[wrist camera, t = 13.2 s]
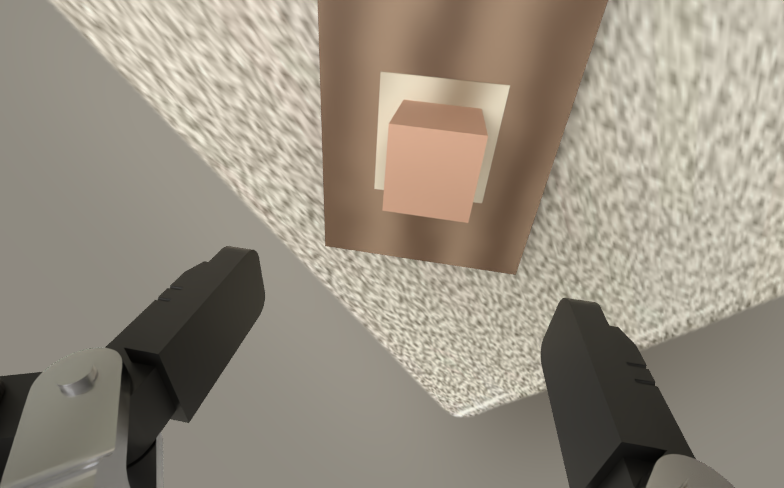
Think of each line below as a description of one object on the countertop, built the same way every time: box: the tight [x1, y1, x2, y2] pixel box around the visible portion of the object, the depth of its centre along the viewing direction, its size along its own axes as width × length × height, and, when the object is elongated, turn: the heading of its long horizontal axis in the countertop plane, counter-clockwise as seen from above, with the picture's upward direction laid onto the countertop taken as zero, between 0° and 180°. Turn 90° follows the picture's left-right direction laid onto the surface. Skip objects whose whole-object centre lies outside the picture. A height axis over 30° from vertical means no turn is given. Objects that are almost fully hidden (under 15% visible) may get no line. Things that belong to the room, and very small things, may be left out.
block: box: [382, 100, 488, 223], centre depth 22 cm, size 5×5×6 cm
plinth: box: [318, 0, 608, 275], centre depth 26 cm, size 16×20×3 cm
